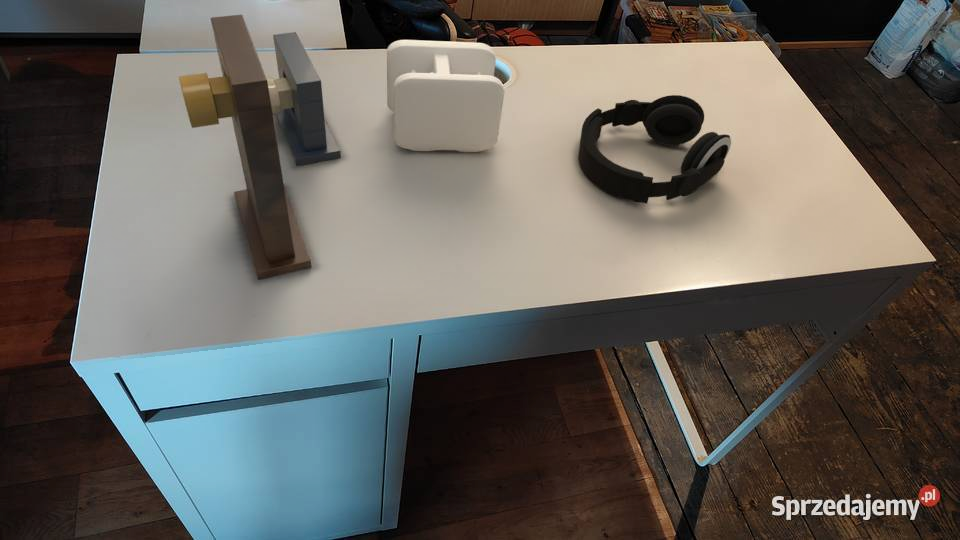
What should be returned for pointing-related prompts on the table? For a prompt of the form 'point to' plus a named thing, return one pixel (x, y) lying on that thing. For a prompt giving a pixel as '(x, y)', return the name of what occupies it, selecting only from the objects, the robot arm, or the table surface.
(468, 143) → the cable organizer
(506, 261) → the table surface
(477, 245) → the table surface
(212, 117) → the knob front
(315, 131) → the panel back
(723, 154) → the headphones
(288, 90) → the knob back
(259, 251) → the panel front
